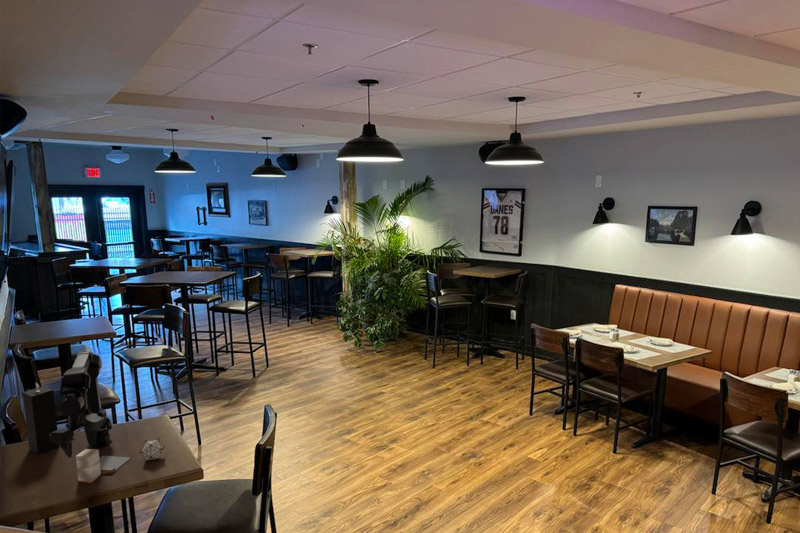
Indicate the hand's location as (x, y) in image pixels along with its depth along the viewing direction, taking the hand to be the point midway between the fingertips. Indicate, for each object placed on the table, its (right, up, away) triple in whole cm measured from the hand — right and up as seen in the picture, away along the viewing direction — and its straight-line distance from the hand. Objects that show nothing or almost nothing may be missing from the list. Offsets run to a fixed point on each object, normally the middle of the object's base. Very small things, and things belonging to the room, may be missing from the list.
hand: (80, 451), depth 174 cm
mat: (-1, -12, +19) cm, 22 cm away
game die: (+14, -11, +22) cm, 29 cm away
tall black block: (-34, -10, +30) cm, 47 cm away
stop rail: (-2, -13, +14) cm, 19 cm away
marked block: (-3, -13, +9) cm, 16 cm away
